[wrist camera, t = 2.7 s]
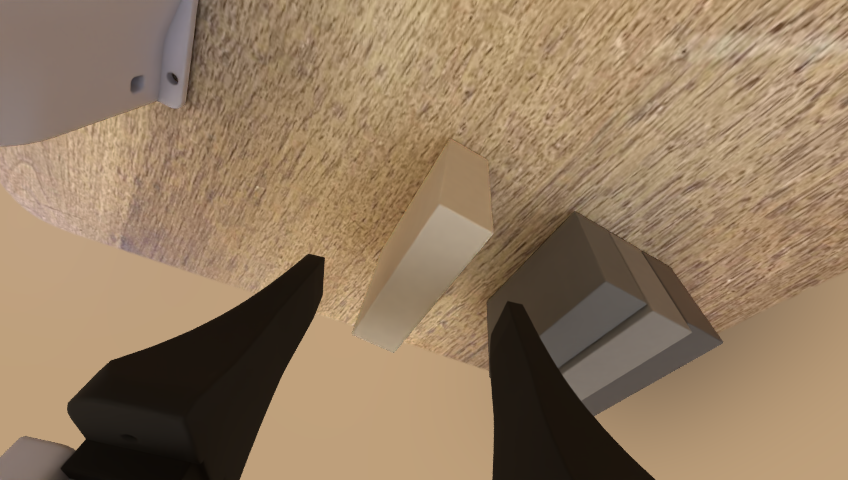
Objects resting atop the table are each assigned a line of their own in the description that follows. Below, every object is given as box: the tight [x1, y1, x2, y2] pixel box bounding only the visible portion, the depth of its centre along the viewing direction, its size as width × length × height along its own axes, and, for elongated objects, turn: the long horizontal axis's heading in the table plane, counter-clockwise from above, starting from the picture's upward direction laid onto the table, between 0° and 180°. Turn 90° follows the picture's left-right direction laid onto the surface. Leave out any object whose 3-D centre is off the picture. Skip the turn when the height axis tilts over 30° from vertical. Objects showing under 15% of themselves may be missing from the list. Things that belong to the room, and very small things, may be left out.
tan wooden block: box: [352, 138, 494, 353], centre depth 17 cm, size 8×2×6 cm, turn 151°
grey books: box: [487, 211, 723, 416], centre depth 19 cm, size 8×7×6 cm
